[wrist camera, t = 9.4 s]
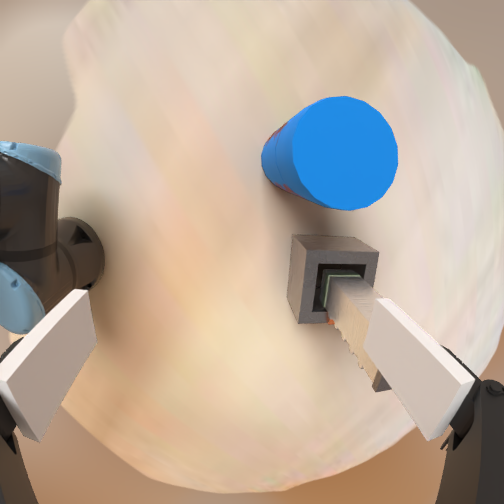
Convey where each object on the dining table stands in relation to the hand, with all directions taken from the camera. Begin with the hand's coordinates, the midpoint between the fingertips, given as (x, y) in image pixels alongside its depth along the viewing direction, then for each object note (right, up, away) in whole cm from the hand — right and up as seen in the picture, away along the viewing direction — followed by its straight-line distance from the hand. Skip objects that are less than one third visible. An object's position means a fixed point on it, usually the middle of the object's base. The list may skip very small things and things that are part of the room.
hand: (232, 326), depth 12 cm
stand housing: (+14, 0, +41) cm, 43 cm away
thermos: (+7, +19, +35) cm, 41 cm away
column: (+14, -2, +33) cm, 36 cm away
